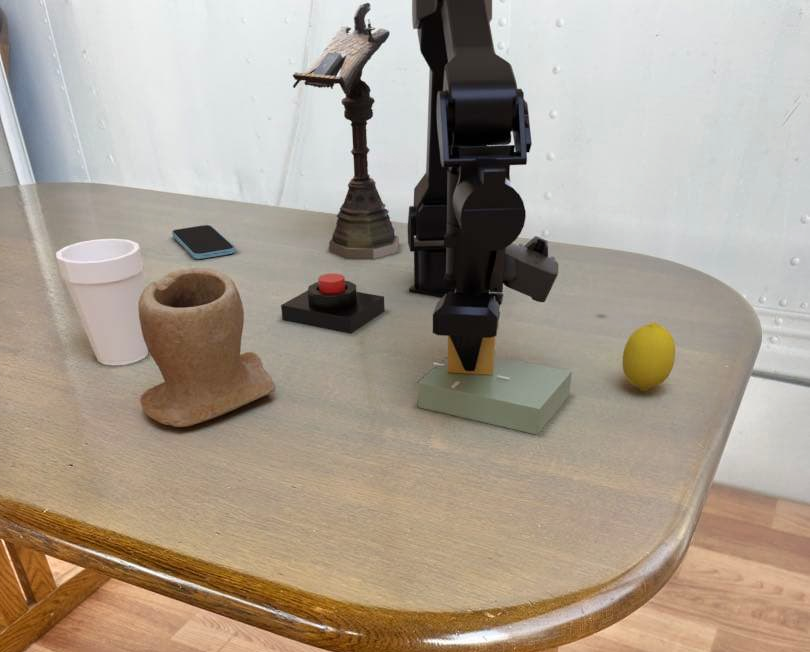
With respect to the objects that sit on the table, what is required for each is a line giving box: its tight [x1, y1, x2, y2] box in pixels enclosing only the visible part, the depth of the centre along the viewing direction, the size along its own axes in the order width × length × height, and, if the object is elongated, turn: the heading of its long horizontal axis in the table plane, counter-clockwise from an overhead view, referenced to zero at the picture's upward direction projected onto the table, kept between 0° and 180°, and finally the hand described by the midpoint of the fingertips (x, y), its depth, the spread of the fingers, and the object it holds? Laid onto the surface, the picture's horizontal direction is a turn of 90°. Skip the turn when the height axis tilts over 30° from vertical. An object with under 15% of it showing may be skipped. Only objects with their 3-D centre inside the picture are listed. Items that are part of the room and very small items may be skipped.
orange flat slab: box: [447, 336, 496, 375], centre depth 88 cm, size 5×1×5 cm, turn 80°
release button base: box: [280, 280, 385, 335], centre depth 111 cm, size 11×9×4 cm
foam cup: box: [55, 238, 149, 366], centre depth 98 cm, size 10×9×13 cm
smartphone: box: [171, 224, 236, 260], centre depth 139 cm, size 7×1×15 cm
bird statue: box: [292, 2, 400, 260], centre depth 124 cm, size 17×13×35 cm
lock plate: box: [417, 355, 573, 436], centre depth 90 cm, size 15×10×3 cm
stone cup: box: [138, 267, 276, 428], centre depth 86 cm, size 15×12×15 cm
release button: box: [317, 272, 346, 293], centre depth 109 cm, size 4×4×2 cm
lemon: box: [621, 321, 676, 392], centre depth 90 cm, size 6×6×8 cm
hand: (470, 367), depth 89 cm, fingers closed on orange flat slab
